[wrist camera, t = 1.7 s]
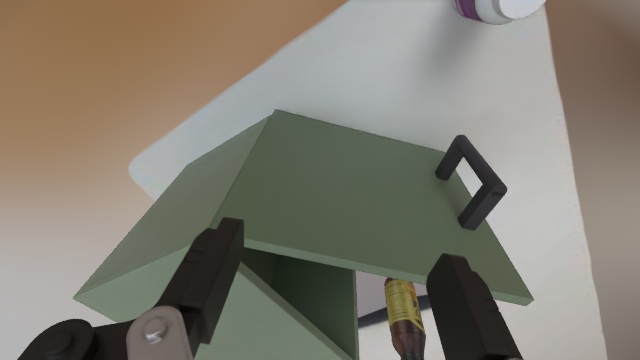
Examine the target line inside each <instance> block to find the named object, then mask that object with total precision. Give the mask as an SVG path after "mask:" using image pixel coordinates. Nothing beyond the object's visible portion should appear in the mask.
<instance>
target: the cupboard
mask: <svg viewBox="0 0 640 360" xmlns="http://www.w3.org/2000/svg"><path fill="white" fill-rule="evenodd" d="M270 118H271V115H270V116H268V117H266V118H265V119H263V120H261V121H260V122H258V123H256V124H255V125H253V126H251V127H250V128H248V129H246V130H245V131H243V132H241V133H240V134H238V135H236V136H235V137H233V138H232V139H230V140H228V141H227V142H225V143H223V144H222V145H220V146H218V147H217V148H215V149H213V150H212V151H210V152H208V153H207V154H205V155H203V156H202V157H200V158H198V159H197V160H195V161H193V162H192V163H190V164H189V165H187V166H186V167H185V168H184V169H183V171H182V172H181V173H180V174H179V175H178V176H177V177H176V179H175V180H174V181H173V182H172V183H171V184H170V186H169V187H168V188H167V189H166V190H165V191H164V193H163V194H162V195H161V196H160V197H159V198H158V199H157V201H156V202H155V203H154V204H153V205H152V206H151V208H150V209H149V210H148V211H147V212H146V213H145V215H144V216H143V217H142V218H141V219H140V220H139V221H138V223H137V224H136V225H135V226H134V227H133V228H132V230H131V231H130V232H129V233H128V234H127V235H126V237H125V238H124V239H123V240H122V241H121V242H120V243H119V245H118V246H117V247H116V248H115V249H114V250H113V252H112V253H111V254H110V255H109V256H108V257H107V259H106V260H105V261H104V262H103V263H102V265H100V267H99V268H98V269H97V270H96V271H95V273H94V274H93V275H92V276H91V277H90V278H89V280H88V281H87V282H86V283H85V284H84V285H83V286H82V287H81V289H80V290H79V291H78V292H77V293H76V294H75V296H74V297H73V299H75V300H76V301H78V302H80V303H82V304H84V305H86V306H88V307H90V308H91V309H93V310H95V311H97V312H99V313H100V314H102V315H104V316H106V317H108V318H110V319H112V320H113V321H115V322H117V323H121V322H126V321H130V320H133V319H135V318H138V317H139V316H140V315H141V314H143V313H144V312H146V311H147V310H149V309H151V308H152V307H153V306H154V305H155V304H156V303H157V302H158V300H159V299H160V297H161V295H162V294H163V292H164V290H165V288H166V287H167V285H168V283H169V282H170V280H171V278H172V277H173V275H174V273H175V271H176V270H177V268H178V266H179V265H180V263H181V261H183V258H184V256H185V254H186V253H187V251H189V248H190V246H191V244H192V243H193V241H194V239H195V238H196V236H198V235H199V234H200V233H201V232H203V231H204V230H205V229H206V228H211V227H212V225H213V223H214V221H215V219H216V217H217V216H218V214H219V212H220V210H221V208H222V206H223V204H224V203H225V201H226V199H227V197H228V195H229V193H230V192H231V190H232V188H233V186H234V184H235V182H236V181H237V179H238V177H239V175H240V173H241V171H242V170H243V168H244V166H245V164H246V162H247V160H248V159H249V157H250V155H251V153H252V151H253V149H254V147H255V146H256V144H257V142H258V140H259V138H260V136H261V135H262V133H263V131H264V129H265V127H266V125H267V124H268V122H269V120H270ZM194 360H359V339H358V316H357V293H356V270H352V269H347V268H342V267H337V266H333V265H328V264H323V263H318V262H314V261H309V260H304V259H299V258H295V257H290V256H285V255H280V254H275V253H271V252H266V251H261V250H256V249H252V248H247V247H244V250H243V255H242V259H241V262H240V264H239V267H238V270H237V272H236V275H235V278H234V280H233V283H232V286H231V288H230V291H229V294H228V297H227V299H226V302H225V305H224V307H223V310H222V313H221V315H220V318H219V321H218V323H217V326H216V329H215V331H214V334H213V337H212V339H211V342H210V345H208V344H201V343H200V346H199V348H198V351H197V353H196V356H195V358H194Z"/></svg>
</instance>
